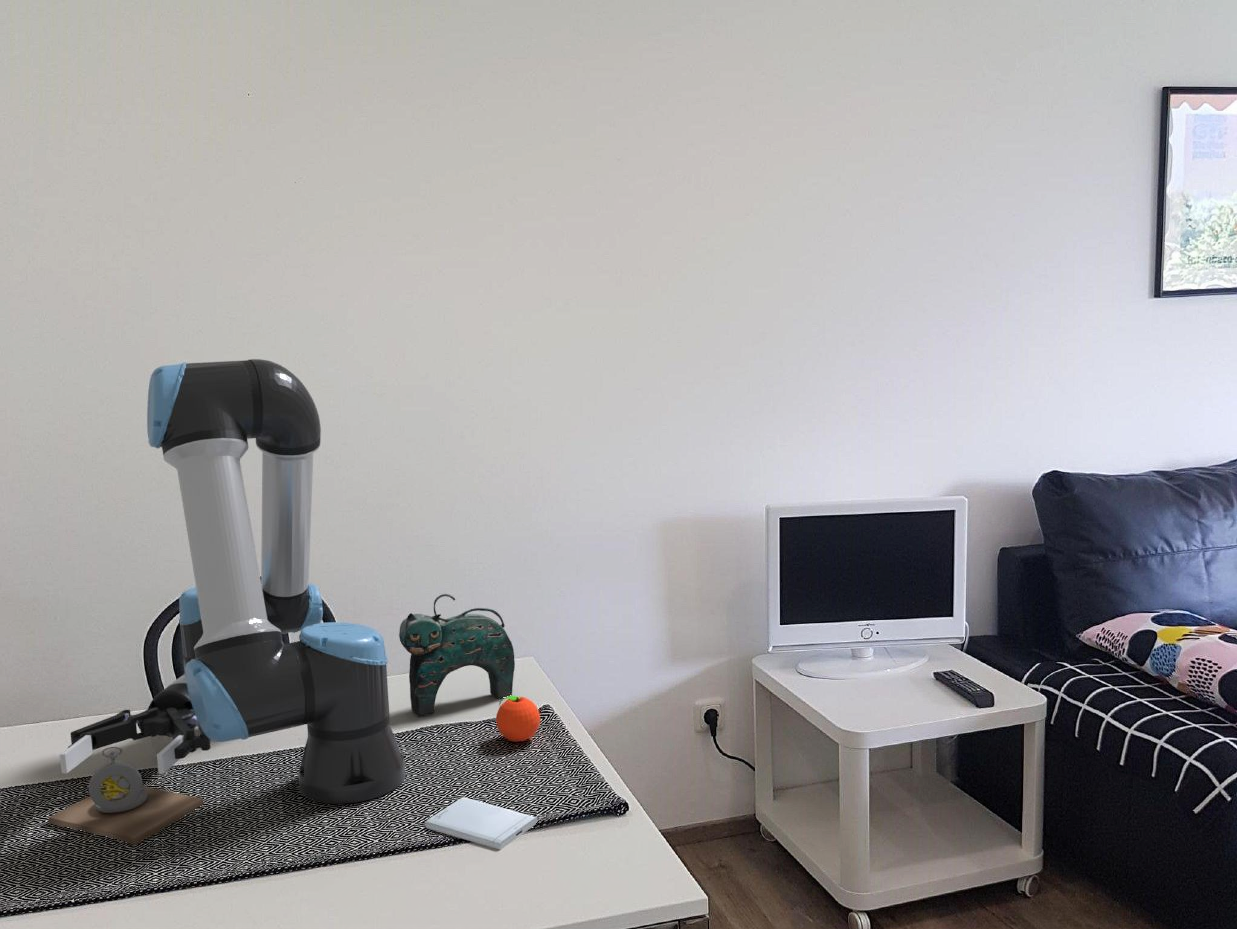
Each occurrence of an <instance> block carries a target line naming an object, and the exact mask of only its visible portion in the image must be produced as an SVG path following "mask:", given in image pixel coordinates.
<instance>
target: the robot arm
mask: <svg viewBox="0 0 1237 929" xmlns="http://www.w3.org/2000/svg"><path fill="white" fill-rule="evenodd" d="M146 410H147V412H146V413H147V414H146V417H147V418H146V419H147V420H146V422H147V423H146V429H147V432H146V433H147V438H148V444H149V446H150V447H151V448H156V449H160V448H161V449H162V455H163V460H164V462H166V463H167V464H168V465H170V466H172V467H173V468H175V469H176V472H177V477H178V485H179V488H180V496H181V502H182V507H183V514H184V519H185V525H186V526H185V527H186V534H187V538H188V545H189V550H190V551H189V552H190V557H191V558H190V559H191V564H192V570H193V576H194V581H195V587H192V588H188V589H186V590H184V591H183V592H182V593H181V594H180V596H179V599H178V601H179V602H178V604H179V607H178V608H179V610H178V611H179V619H178V622H179V625H180V636H181V643H182V645H181V646H182V653H183V668H184V670H183V671H184V673H183V674H182V675H181V676H180V677H178V678H177V679H175V680H174V681H173V682H172V683H170V684H169V685H168V686H167V687H165V688H164V689H163V690H161V691H160V692H159V693H157V694H156V695H155V696H154V697H153V699H152V700H150V703H149V706H148V708H147V709H146V710H145V711H142V712H139V713H136V714H131V710H130V709H124V710H122V711H120V712H118V713H117V714H115V715H113V716H109V717H107V718H104V719H102V720H99V721H97V722H93V723H92V724H88V725H86V726H83V727H81V728H78V729H75V730H73V731H71V732H70V742H71V743H70V745H69V746H67V748H66V749H65V750H63V752H61V753H60V754H59V759H60V760H59V761H60V769H61V774H68V773H69V772H71V771H72V770H73V769H75V768H76V767H77V766H79V765H80V764H81V763H82V762H83V761H85V760H86V759H87V758H89V757H90V756H91V755H93V754H94V752H93V751H94V750H97V749H100V748H104V747H108V746H111V745H114V744H117V743H120V742H123V741H124V742H125V741H127V740H131V739H132V741H139V740H141V739H144V738H147V737H156V736H158V737H159V736H161V737H163V736H164V737H165V736H166V737H170V738H172V739H173V740H172V741H171V742H170V743H168V744H167V745H166V746H165V747H163V749H162V750H160V751H159V752H158V753H157V754H156V760H157V762H156V763H157V771H158V774H165V773H166V772H168V771H169V770H170V769H171V768H172V767H173V766H174V765H175V764H176V763H178V762H179V761H180V760H181V759H184V758H186V757H187V756H188V755H189V754H191V753H194V752H196V751H197V749H201V751H210V749H211V741H212V742H214V743H225V742H230V741H236V740H237V741H238V740H243V741H244V740H246V739H249V738H252V737H257V736H259V735H260V736H261V735H265V734H270V733H273V732H279V731H282V730H287V729H288V730H289V729H291V728H296V727H301V726H304V725H306V727H307V739H306V742H305V746H304V749H303V754H302V758H301V762H300V765H299V769H298V778H297V779H298V787H299V792H300V794H301V795H302V796H303V797H305V798H306V799H309V800H311V801H313V802H317V803H321V802H322V803H323V804H330V805H331V804H332V805H334V804H335V805H340V804H354V803H360V802H365V801H369V800H373V799H375V798H379V797H381V796H384V795H387V794H388V793H390V792H392V791H393V790H396V788H397V789H398V787H399V786H400V785H402V783H403V782H404V780H405V778H406V762H405V758H404V756H403V754H402V752H401V751H400V748H399V746H398V742H397V739H396V737H395V735H394V732H393V730H392V728H391V721H390V720H391V719H390V718H391V717H390V703H389V690H388V689H389V688H388V687H389V686H388V672H387V671H388V670H387V666H388V665H387V664H388V659H387V654H386V647H385V641H384V638H383V636H382V634H381V632H379V631H378V630H376V629H375V628H373V627H371V626H368V625H363V624H360V623H353V622H341V621H338V622H336V621H335V622H333V621H332V622H322V620H323V614H324V609H323V600H322V595H321V592H320V590H319V588H318V586H317V585H316V584H314V583H309V582H310V581H309V580H310V556H311V555H310V551H311V530H312V529H311V527H312V524H311V523H312V502H313V501H312V498H313V472H314V469H313V468H314V453H315V452H317V451H318V450H319V449H320V447H321V439H322V438H321V437H322V436H321V434H322V431H321V428H322V427H321V422H320V415H319V411H318V409H317V406H316V404H315V401H314V399H313V397H312V396H311V394H310V392H309V391H308V389H307V387H306V386H305V385H304V384H303V382H302V381H301V380H300V379H299V378H298V376H296V375H295V374H294V373H293V372H291V371H290V370H289V369H287V368H286V367H284V366H282V365H281V364H279V363H276V362H273V361H272V360H268V359H267V360H266V359H259V358H254V359H246V360H228V361H227V360H225V361H208V362H182V363H178V364H177V363H175V364H169V365H160V366H159V367H157V368H155V369H154V370H153V372H152V373H151V375H150V378H149V383H148V391H147V409H146ZM250 439H255V446H256V447H257V448H258V450H260V451H261V452H262V454H261V455H262V460H261V461H262V463H261V464H262V466H261V470H262V471H261V472H262V473H261V474H262V475H261V478H262V479H261V487H262V488H261V551H260V552H261V559H260V560H261V562H260V564H261V566H260V567H261V568H260V569H259V563H258V556H257V552H256V547H255V546H256V545H255V540H254V535H253V529H252V523H251V518H250V517H251V516H250V512H249V505H248V500H247V494H246V489H245V483H244V478H243V473H242V472H243V471H242V467H241V466H242V465H241V459H242V458H243V456H244V455H246V452H247V451H248V450H249V442H248V440H250ZM260 571H261V572H260ZM298 632H300V634H299V636H298V641H297V640H296V641H293V642H286V643H284V641H283V635H284V634H289V633H298ZM137 727H138V729H139V731H140V732H138V729H137ZM195 728H197V730H198V731H199V735H196V732H195Z"/></svg>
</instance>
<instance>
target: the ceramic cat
mask: <svg viewBox="0 0 1237 929" xmlns="http://www.w3.org/2000/svg"><path fill="white" fill-rule="evenodd" d="M443 597H444V598H445V597H449V598H450V599H451V600H453V601H455V600H456V598H455V597H454V596H453V595H451V594H448V593H443V594H440V595H439V596H437V597H436V598H435V599H434V602H433V613H434V615H433V616H431V615H428V614H424V613H423V614H422V613H412V612H410V613H409V614H408V615H407V617H405V619H403V620H402V622H400V626H399V634H398V637H399V638H398V639H399V641H400V644H401V645H402V647H403V648H404V649H405V650H406V651H407V653H409V654H410V658H409V671H408V672H409V677H408V679H409V695H410V696H409V698H410V707H411V711H412V712H413V714H414V715H415V716H416V717H418V718H423V717H427V716H431V715H433V714H434V713H435V704H436V700H437V694H438V692H439V689H440V687H441V686H442V683H443V682H444V680H445V679H446V677H447V676H448V675H450V673H452V672H455V671H456V670H457V671H458V670H459V669H461V668H465V667H468V666H469V667H470V666H473V667H478V668H481V669H482V670H484V671H486V673H487V675H488V680H489V692H490V693H489V694H490V695H491V696H493V698H495V699H498V698H502V699H503V697H507V696H510V695H511V696H513V685H514V684H513V683H514V674H515V668H516V667H515V664H516V661H515V651H514V646H513V643H512V641H511V639H510V637H509V636H508V633H507V632H506V630H505V629H504V628H505V627H506V626H505V623H504V620H503V618H502V615H500V613H498V612H497V611H495V610H494V609H491V608H488V607H487V608H486V607H475V608H471V609H468V610H465V611H464V612H462V613H460V614H458V615H455V616H450V617H447V618H442V617H441V616H442V614H441V613H439V614H437V610H436V603H437V602H438V600H439V599H440V598H443ZM475 611H477V612H478V611H479V612H491V613H492V614H494V615H495V616H497V617H498V618H499V620H500V622H501V624H500V623H499V622H497V621H496V620H494V618H493V619H492V618H490V617H488V616H487V615H484V614H480V613H479V614H478V613H471V612H475Z"/></svg>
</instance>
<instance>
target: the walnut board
mask: <svg viewBox="0 0 1237 929" xmlns="http://www.w3.org/2000/svg"><path fill="white" fill-rule="evenodd" d="M129 787H130V786H129ZM129 787H128V788H129ZM104 789H107V788H106V787H104ZM142 789H144V790H146V791H147V799H146V801H145V802H143V803H142V804H141V805H139V806H137V807H135V808H133V809H130V810H127V811H122V812H116V813H105V812H101V811H99V810H98V809H97V808H96V806H95V803H94V802H93V800H92V799H91V797H90V796H88V797H86V798H84V799H82V800H80V801H78V802H76V803H73V804H72V805H70V806H68V807H66V808H63V809H62V810H59V811H58V812H56V813H54V814H52V815H50V816H48V817H47V818H48V824H49V823H50V824H49V825H51V824H55V825H57V826H56V827H59V826H62V827H61V828H63V827H69V828H72V829H77V830H82V831H85V832H88V833H93V834H97V835H102V836H107V837H110V838H114V839H117V840H121V841H125V842H128V843H130V844H129V845H133V844H134V845H133V846H136V845H138V844H139V842H140V843H141V842H143V841H145V840H147V839H148V838H150V837H152V836H154V835H155V834H157V833H159V832H160V831H162V830H164V829H166V828H167V827H169V826H171V825H172V823H173V824H174V823H176V822H177V820H178V821H179V819H180V818H181V819H183V818H185V817H186V816H185V815H187V816H188V815H189V814H188V813H190V812H192V811H193V810H195V809H197V808H198V807H200V806H202V805H203V804H204V798H200V797H195V796H191V795H186V794H181V793H177V792H173V791H168V790H164V789H158V788H154V787H150V786H144V785H142ZM102 792H103V793H104V794H105V793H108V792H105V791H102ZM202 807H203V806H202ZM200 808H201V807H200ZM197 810H198V809H197ZM195 811H196V810H195ZM193 812H194V811H193ZM193 812H192V813H193ZM190 814H191V813H190ZM184 816H185V817H184ZM182 817H183V818H182ZM181 819H180V820H181ZM170 824H171V825H170ZM55 825H54V826H55ZM165 827H166V828H165ZM88 833H87V834H88ZM153 834H154V835H153ZM149 836H150V837H149ZM146 838H147V839H146ZM144 839H145V840H144ZM142 840H143V841H142ZM128 843H127V844H128Z"/></svg>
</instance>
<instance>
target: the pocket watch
mask: <svg viewBox="0 0 1237 929" xmlns="http://www.w3.org/2000/svg"><path fill="white" fill-rule="evenodd" d="M110 749H111V750H112V749H115V750H119V753H117V754H116V753H115V751H111V752H110V754H109V755H106V754H105V751H107V750H110ZM122 753H123V749H122V748H121V747H118V746H110V747H105V748H104V749H102V751H101V755H102V757H104V758H107V759H108V760H110V762H109V763H106V764H104V765H102V766H100V767H98V769H96V770H95V771H94V773H93V774H92V776H91V778H90V779H89V784H88V793H89V797H91V799H92V800H93V802H94V803H95V806H96V808H97V809H98V810H99V811H101V812H105V813H116V812H122V811H127V810H130V809H133V808H135V807H137V806H139V805H141V804H142V803H143V802H145V801H146V799H147V791H146V790H144V789H142V786H143V784H144V783H143V779H142V774H140V772H139V770H138V769H137V768H136V767H134V766H133V765H131V764H129V763H126V762H123V761H116V759H117V758H118V757H119V756H120V755H122ZM129 786H130V787H129ZM128 787H129V788H128ZM105 788H107V789H105ZM102 791H105V792H108V793H105V794H104V793H103V792H102Z"/></svg>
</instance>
